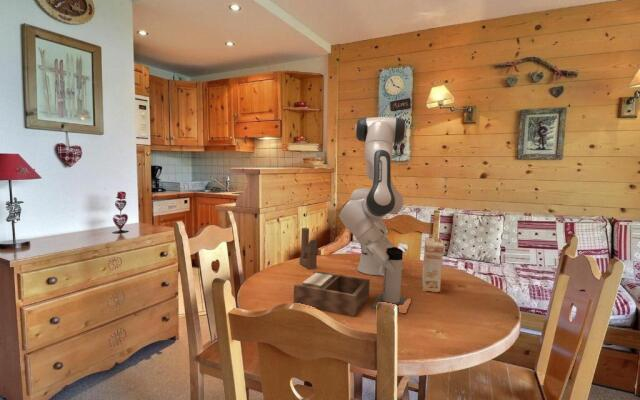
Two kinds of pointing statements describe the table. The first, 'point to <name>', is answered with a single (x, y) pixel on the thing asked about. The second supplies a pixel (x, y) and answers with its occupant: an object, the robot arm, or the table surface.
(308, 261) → the brown wooden handled piece
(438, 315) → the table surface
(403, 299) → the rubber mat
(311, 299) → the walnut rack
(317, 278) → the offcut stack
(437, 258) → the coffeecake box
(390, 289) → the travel mug
